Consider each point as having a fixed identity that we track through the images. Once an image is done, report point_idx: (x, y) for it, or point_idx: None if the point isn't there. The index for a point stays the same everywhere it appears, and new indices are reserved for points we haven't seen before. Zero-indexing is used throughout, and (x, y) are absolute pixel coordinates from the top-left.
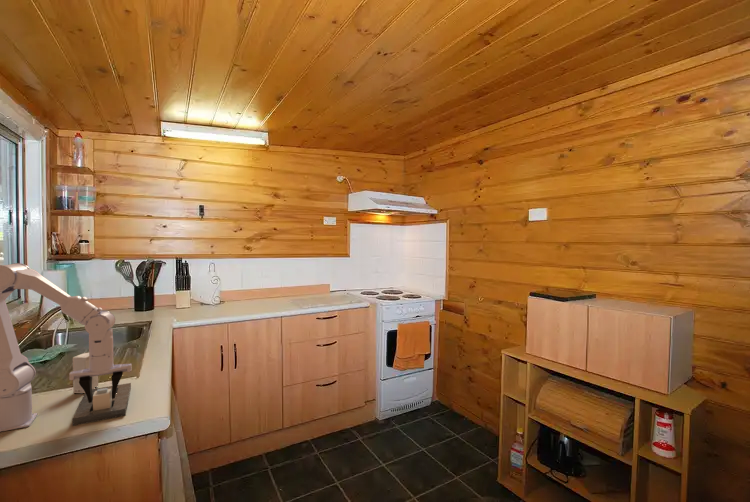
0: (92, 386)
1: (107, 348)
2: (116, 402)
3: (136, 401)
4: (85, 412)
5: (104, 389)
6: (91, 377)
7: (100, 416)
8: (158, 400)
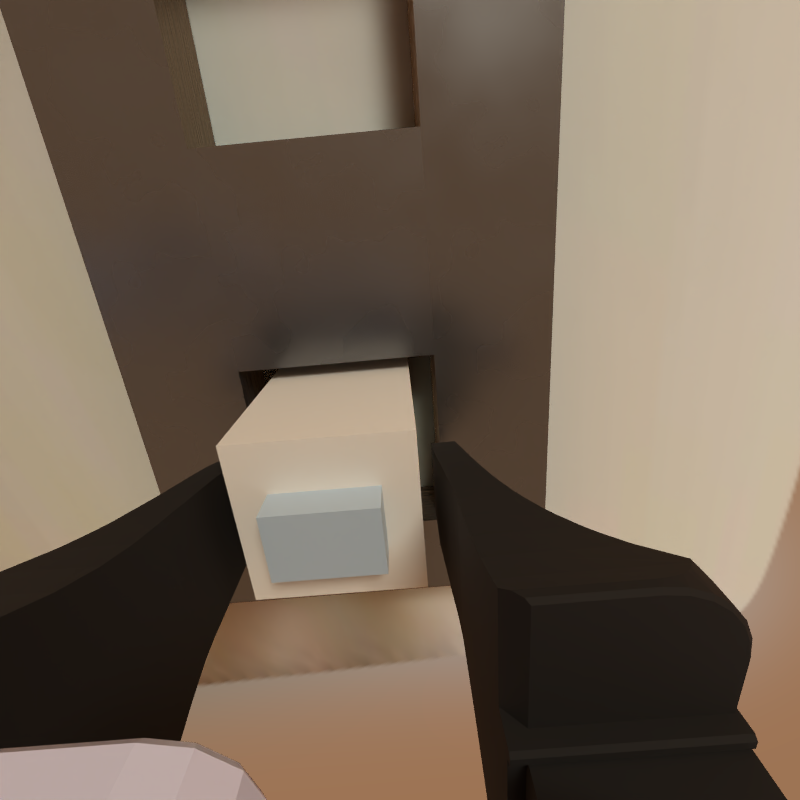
0: None
1: None
2: (458, 423)
3: (601, 284)
4: None
5: (354, 555)
6: (30, 731)
7: None
8: (778, 348)
